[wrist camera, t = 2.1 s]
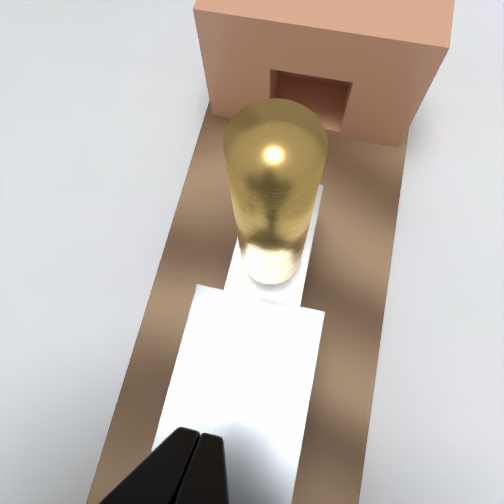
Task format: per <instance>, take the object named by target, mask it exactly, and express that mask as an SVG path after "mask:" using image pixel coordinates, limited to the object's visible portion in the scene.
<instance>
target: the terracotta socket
mask: <svg viewBox="0 0 504 504" xmlns="http://www.w3.org/2000/svg"><path fill="white" fill-rule="evenodd" d="M453 9H454V0H196V2H195V5H194V8H193V11H194V17H195V22H196V28H197V33H198V39H199V44H200V49H201V55H202V60H203V66H204V71H205V77H206V82H207V88H208V93H209V99H210V104H211V110H212V115H215V116H220V117H226V118H233V117H234V116H235V114H236V113H237V112H239V111H240V110H241V109H242V108H244V107H246V106H247V105H249V104H251V103H254V102H257V101H260V100H264V99H272V98H280V99H287V100H291V101H295V102H297V103H300V104H302V105H304V106H305V107H307V108H309V109H310V110H311V111H312V112H314V113H315V114H316V115H317V117H318V118H319V119H320V120H321V122H322V124H323V125H324V127H325V130H326V133H327V135H329V136H334V137H340V138H346V139H351V140H357V141H363V142H368V143H374V144H380V145H386V146H391V147H397V148H398V147H399V145H400V143H401V141H402V139H403V138H404V136H405V134H406V132H407V130H408V128H409V126H410V124H411V122H412V120H413V118H414V116H415V114H416V112H417V110H418V108H419V106H420V104H421V102H422V100H423V98H424V96H425V95H426V93H427V91H428V89H429V87H430V85H431V83H432V81H433V79H434V77H435V75H436V73H437V71H438V69H439V67H440V65H441V63H442V61H443V59H444V57H445V55H446V54H447V52H448V50H449V47H450V37H451V28H452V19H453Z"/></svg>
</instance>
